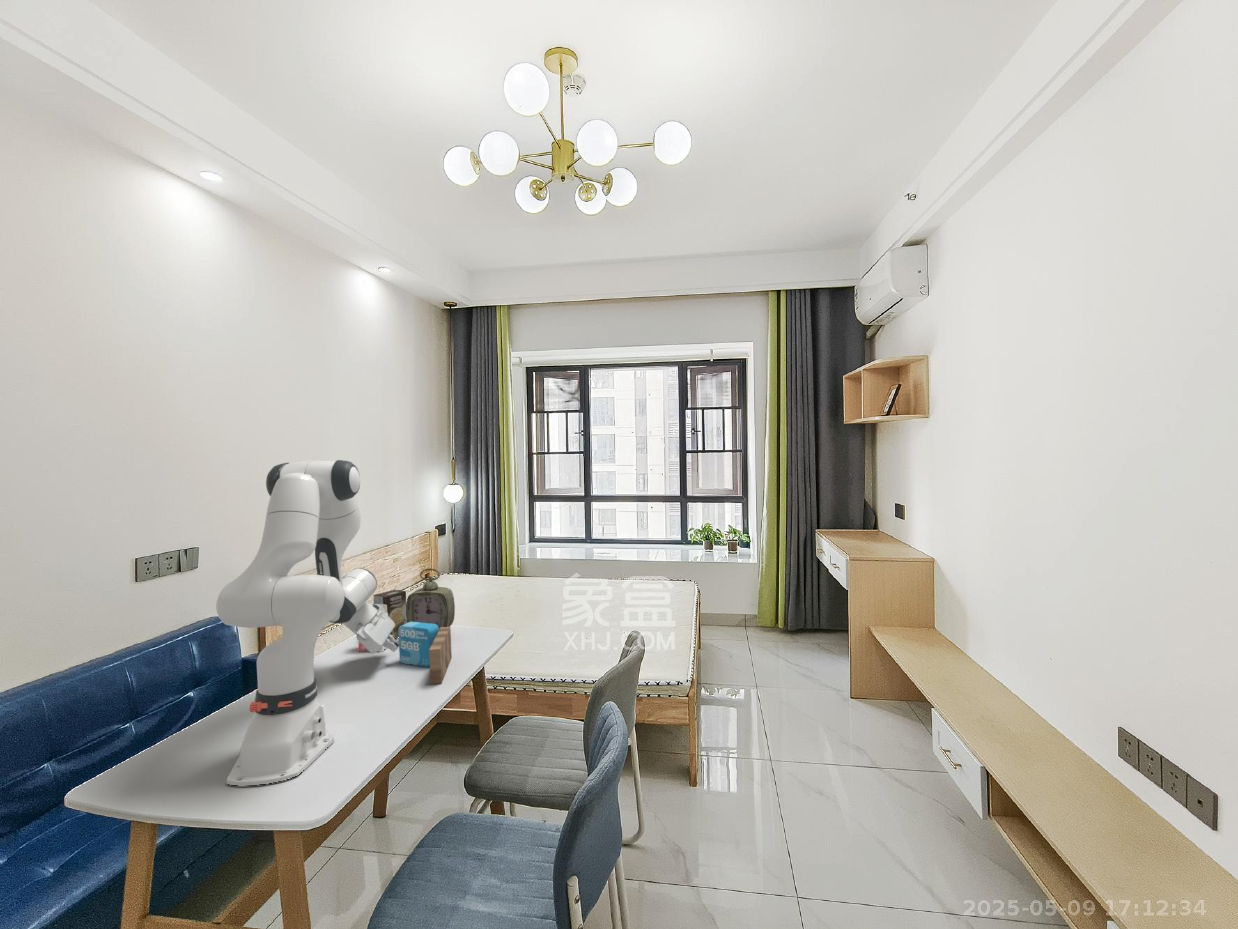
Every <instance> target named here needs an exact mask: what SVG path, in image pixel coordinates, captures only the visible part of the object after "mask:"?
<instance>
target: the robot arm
mask: <svg viewBox="0 0 1238 929" xmlns="http://www.w3.org/2000/svg"><path fill="white" fill-rule="evenodd" d="M360 477H361V475H360V472H359V469H358V467H357V466H356V464H354V463H353V462H352V461H349V460H348V461H347V460H343V459H342V460H341V459H337V460H314V459H313V460H301V461H294V462H291V463H290V462H283V463H279V464H276V465H274V466H273V467H272V468H271V469H270V470H269V472H268V474H267V476H266V481H265V484H266V485H265V486H266V491H267V494H268V495H269V497H270V498H269V501H268V505H267V510H266V515H265V521H264V528H263V533H262V538H261V542H260V545H259V548H258V550H257V553H256V555H255V557H254V559H252V562H250V564H249V566H248V567H247V568H246V569H245V570H244V571H243V572H242V573H241V574H240V575H239V576H237V577H236V578H234V579H233V580H232V581H230V582H229V583H227V584H226V585H224V587H223V588H222V589H221V591H220V592H219V594H218V597H217V600H216V604H215V605H216V614H217V616H218V618H219V620H220V621H221V622H222V623H223V624H224V625H226V626H229V627H230V626H231V627H236V628H237V627H238V628H245V629H246V628H247V629H250V628H251V629H252V628H267V627H269V628H270V627H282V635H281V637H280V638H278V639H276V640H274V641H272V642H270V643H269V644H268V645H266V646H265V647H264V648H263V649H262V650H261V651H260V652H259V653H258V656H257V657H256V675H257V677H256V679H257V690H256V692H255V697H254V701H251V702H250V704H249V709H248V710H249V712H250V713H253V716H252V718H251V720H250V722H249V725H248V728H247V730H246V733H245V735H244V737H243V741H242V742H241V746H240V749H239V756H238V757H237V759H236V761H235V763H234V765H233V767H232V769H231V771H230V772H229V774H228V775H227V778H226V784H227V785H228V784H231V785H238V786H237V787H246V786H245V785H257V786H259V785H258V784H266V785H270V784H269V783H272V784H274V783H273V782H276V781H282V780H284V779H288V778H292V777H295V776H297V775H299V774H300V773H301V772H302V773H303V772H304V771H306V769H307V768H309V766H311V765H312V763H314V762H315V760H316V759H318V758H319V756H321V755H322V754H323V753H324V752H325V751H326V750H327V749H328V748H329V747H330V746H331V745H332V744H333V743H334V742H335V736H334V735H332V734H329V733H328V727H327V719H326V709H325V706H324V705H323V704H322V703H321V702H320V701H319V700H318V698H317V696H318V684H317V679H316V678H315V669H314V668H315V665H314V661H315V660H314V659H315V647H316V643H317V640H318V637H319V635H320V634H321V632H322V631H323V629H324V627H325V626H326V625H328V624H329V623H332V624H343V625H344V626H345V628H347V629H349V630H350V631H351V632H352V633H353V634H354V635H356V639H357V642H358V641H359V642H360V643H361V644H362V645H363V646H364V647H365V648H366V649H367V650H368V651H369V652H370V653H372V654H376V653H378V652H377V651H378V650H379V649H380V648H381V647H382V646H384V647H386V648H387V649H389V650H390V651H391V652H393V653H394V652H396V651H397V650H398V649H399V642H397V641H396V639H394V638H393V636H392V635H391V634H390V633H391V632H392V630H393V628H394V627H395V623H394V622H393V621H392V619H391V618H390V617H389V616H387V615H386V614H385V613H384V612H383V611H381V610H380V607H379V606H378V605H377V604H374V603H373V604H372V603H368V600H369V598H371V597H372V595H374V593H375V591H376V590H377V588H378V581H377V577H376V575H374V574H373V572H371V570H369V569H366V568H364V567H356V568H354V569H352V570H350V571H347V572H345V573H344V574H342V560H343V557H344V554H345V552H346V550H347V549H348V547H349V546H350V543H351V542H352V541H353V539H354V538H355V537H356V535H357V534H358V532H359V529H360V528H361V512H360V508H359V504H358V500H357V497H356V495H357V494H358V493H359V491H360V487H361V478H360ZM313 553H314V556H315V557H314V558H315V567H316V573H317V574H315V573H313V574H311V573H310V574H297V575H296V574H295V575H288V574H289V572H290V571H291V570H292V568H293V567H294V566H295V565H297V564H299V563H300V562H302V561H304V560H307V559H308V558H309V557H311V555H312V554H313ZM369 652H368V653H369ZM327 747H328V748H327ZM325 749H326V750H325ZM303 770H304V771H303ZM302 773H301V774H302ZM301 774H300V775H301ZM300 775H299V776H300ZM297 777H298V776H297ZM295 778H296V777H295ZM292 779H293V778H292ZM282 782H283V781H282ZM231 785H230V786H231Z"/></svg>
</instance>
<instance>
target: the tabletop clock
mask: <svg viewBox="0 0 1238 929" xmlns="http://www.w3.org/2000/svg"><path fill="white" fill-rule="evenodd" d="M427 571H434V572H436V573H437V574H438V576H436V577H435V578H432V576H431V575H430V576H428V578H427V577H426V578H425V577H423V576H422V575H423V573H424V572H427ZM419 576H420V578H421V579H422V580H424V581H426V582H424V584H423V586H422V587H420V588H418V589H416V590H415V591H413V592H411V593H410V594H408V595H407V597H406V617H407V623H409V622H420V623H430V624H436V625H437V626H438V628H439V630H440V628H441V627H450V628H451V626H452V625H453V624H454V620H455V614H456V613H455V611H456V605H455V597H454V593H453V590H452V589H451V588H449V587H443V586H439V585H438V583H437V582H435V581H436V580H438V579H439V578H440V576H441V572H440V571H439V570H437V569H436V568H432V567H431V568H425V569H423V570H422V571H421V572H420V573H419Z"/></svg>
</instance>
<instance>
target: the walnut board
mask: <svg viewBox="0 0 1238 929" xmlns="http://www.w3.org/2000/svg"><path fill="white" fill-rule="evenodd" d="M451 634H452V630H451V626H450V627H441V628H440V630H439V632H438V634H437V636H436V638H435V639H434V641H433V643H432V645H431V647H430V649H429V656H430V666H429V676H430V677H429V678H430V685H442V683H443V681H444V679H445V676H446V673H447V671H448V668H449V666H450V664H451V661H452V654H453V653H452V635H451Z"/></svg>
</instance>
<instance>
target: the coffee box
mask: <svg viewBox="0 0 1238 929" xmlns="http://www.w3.org/2000/svg"><path fill="white" fill-rule="evenodd" d="M372 595H373V604H380V605H387V613H388V616H389V617H390V618H391V619H392V621H393V622H394V623H395V627H394V628H393V630H392V632H391V633H390V634H391V635H392V636H393V638H394V639H395V640H398V639H399V638H398V637H399V633H398V629H399V627H400V626H402V625H404V624H406V623H407V617H406V603H407V591H406V590H401V589H392V590H387V591H384V592H379V593H377V594H372ZM397 638H398V639H397Z"/></svg>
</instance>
